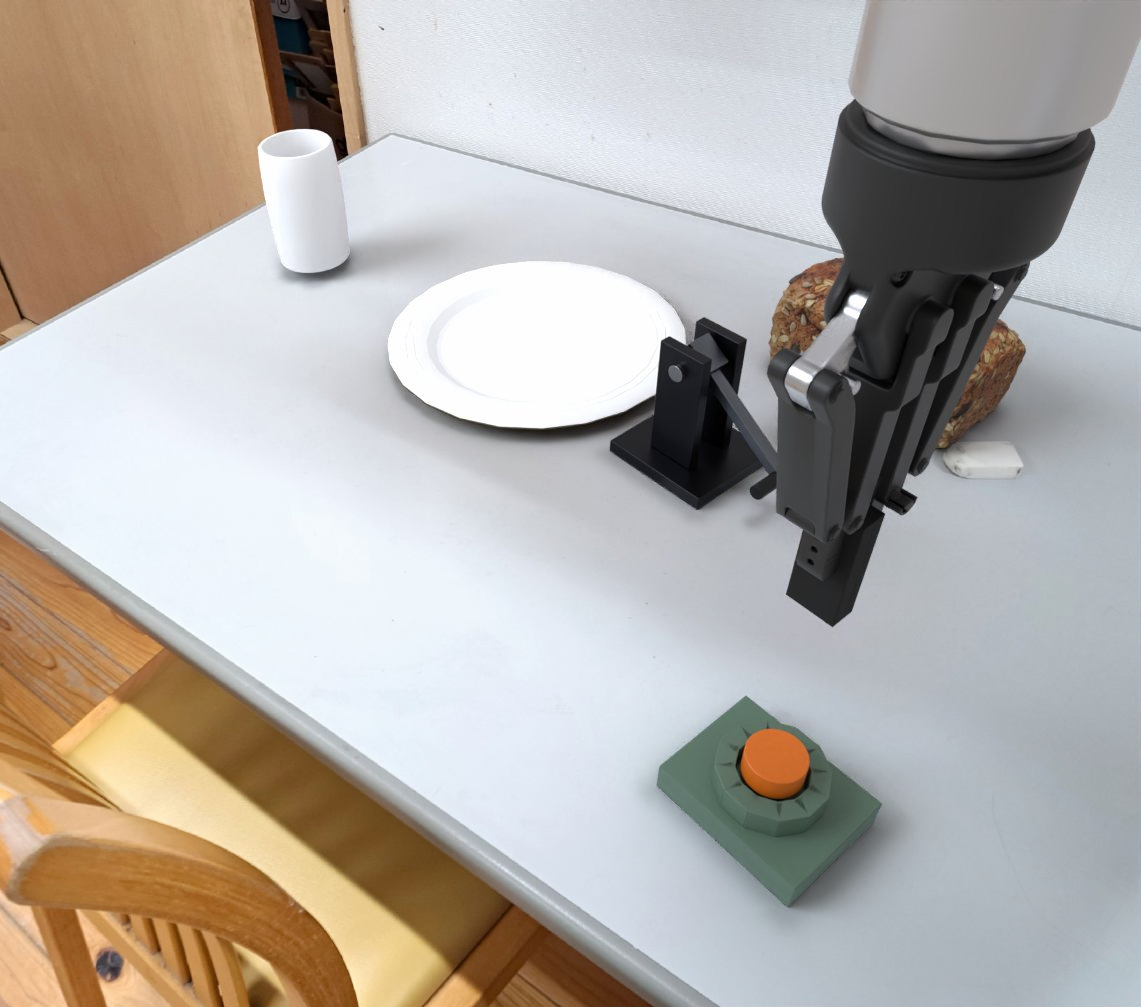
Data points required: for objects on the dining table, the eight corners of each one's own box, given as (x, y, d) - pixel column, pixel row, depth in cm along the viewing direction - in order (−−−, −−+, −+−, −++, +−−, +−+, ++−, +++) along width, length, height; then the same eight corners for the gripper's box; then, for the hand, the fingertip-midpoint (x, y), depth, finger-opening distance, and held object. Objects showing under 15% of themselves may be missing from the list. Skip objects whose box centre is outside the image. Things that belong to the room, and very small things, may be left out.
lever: (800, 470, 76) (819, 460, 74) (750, 504, 74) (769, 494, 72) (709, 336, 78) (725, 322, 75) (657, 365, 75) (672, 352, 73)
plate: (745, 340, 94) (748, 324, 93) (546, 489, 80) (546, 472, 78) (527, 248, 110) (527, 233, 109) (329, 358, 96) (326, 342, 94)
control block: (873, 822, 57) (890, 787, 54) (787, 908, 53) (800, 874, 51) (741, 714, 63) (750, 677, 60) (656, 785, 59) (661, 749, 57)
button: (817, 774, 55) (823, 758, 54) (777, 811, 54) (782, 795, 53) (767, 734, 57) (772, 717, 56) (727, 768, 56) (731, 752, 55)
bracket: (769, 461, 81) (794, 343, 73) (697, 510, 77) (714, 391, 69) (680, 408, 87) (694, 293, 79) (609, 450, 83) (616, 335, 75)
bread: (759, 368, 91) (776, 273, 84) (828, 325, 95) (849, 232, 88) (941, 461, 80) (978, 362, 73) (1008, 408, 84) (1049, 309, 77)
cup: (268, 262, 111) (241, 141, 101) (332, 240, 114) (313, 120, 104) (299, 292, 106) (274, 167, 96) (366, 268, 109) (349, 145, 99)
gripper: (973, 31, 35) (836, 501, 51) (735, 135, 29) (666, 625, 46) (1192, 84, 30) (966, 581, 47) (960, 218, 25) (795, 728, 41)
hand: (818, 602), depth 46 cm, fingers closed
